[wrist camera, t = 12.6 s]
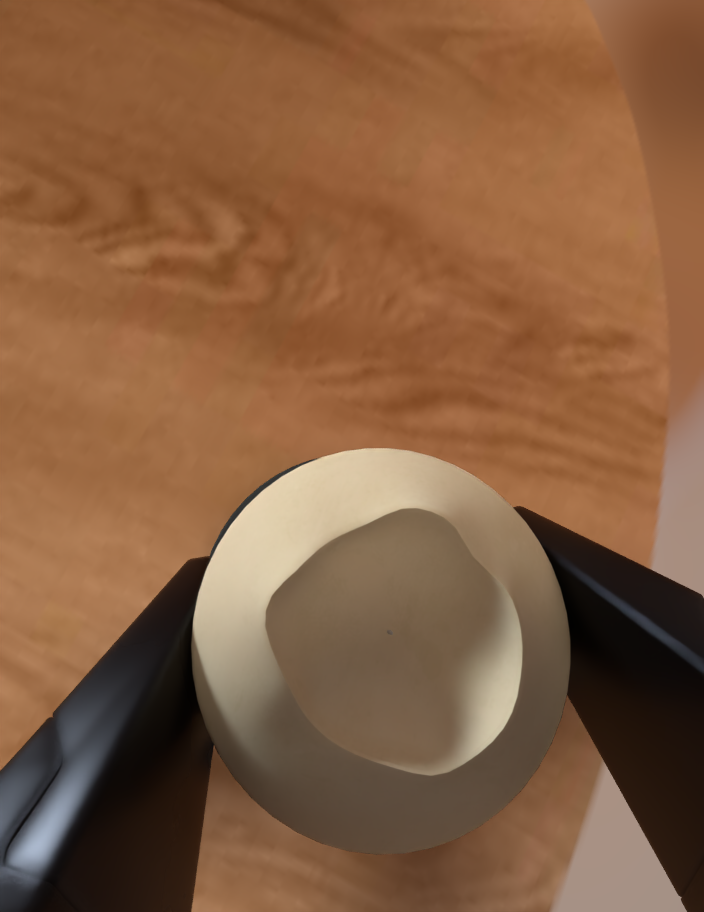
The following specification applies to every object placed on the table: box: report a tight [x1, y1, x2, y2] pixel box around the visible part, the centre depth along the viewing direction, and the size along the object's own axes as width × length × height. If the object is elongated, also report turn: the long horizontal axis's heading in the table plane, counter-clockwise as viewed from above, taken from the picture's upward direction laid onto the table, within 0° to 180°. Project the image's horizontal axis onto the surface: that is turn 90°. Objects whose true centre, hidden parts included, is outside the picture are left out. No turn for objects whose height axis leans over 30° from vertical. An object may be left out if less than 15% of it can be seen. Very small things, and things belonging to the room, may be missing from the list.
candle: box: [191, 448, 571, 855], centre depth 10 cm, size 6×6×10 cm
